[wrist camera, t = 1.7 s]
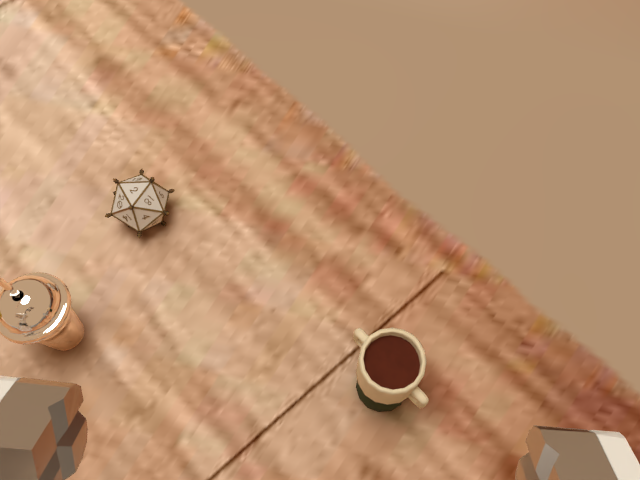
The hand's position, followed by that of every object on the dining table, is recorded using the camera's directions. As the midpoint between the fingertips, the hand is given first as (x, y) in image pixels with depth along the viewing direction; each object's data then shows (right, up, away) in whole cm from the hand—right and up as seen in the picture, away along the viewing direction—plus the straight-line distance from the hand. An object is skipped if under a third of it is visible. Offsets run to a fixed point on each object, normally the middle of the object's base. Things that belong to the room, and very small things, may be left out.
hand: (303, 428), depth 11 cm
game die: (-24, +7, +73) cm, 77 cm away
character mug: (+8, -15, +63) cm, 65 cm away
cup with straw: (-33, -9, +66) cm, 74 cm away
